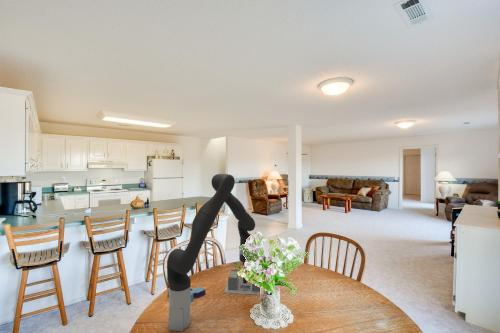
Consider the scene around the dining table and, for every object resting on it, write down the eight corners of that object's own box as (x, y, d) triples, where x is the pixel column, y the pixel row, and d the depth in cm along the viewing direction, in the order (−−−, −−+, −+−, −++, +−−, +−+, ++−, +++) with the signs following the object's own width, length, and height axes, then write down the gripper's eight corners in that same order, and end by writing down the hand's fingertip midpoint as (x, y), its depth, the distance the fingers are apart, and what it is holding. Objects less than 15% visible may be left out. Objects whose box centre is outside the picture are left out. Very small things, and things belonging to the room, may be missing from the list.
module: (250, 285, 142) (250, 271, 142) (239, 284, 143) (240, 270, 143) (250, 282, 146) (250, 268, 146) (240, 281, 147) (240, 267, 147)
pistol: (207, 294, 137) (186, 306, 125) (188, 286, 146) (167, 296, 134) (207, 286, 137) (187, 298, 125) (188, 279, 146) (167, 289, 134)
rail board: (263, 295, 137) (264, 281, 137) (224, 292, 138) (224, 278, 138) (264, 282, 151) (264, 270, 150) (228, 280, 152) (228, 268, 152)
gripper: (251, 257, 137) (250, 287, 137) (253, 248, 151) (252, 276, 151) (237, 256, 137) (237, 287, 138) (240, 247, 152) (240, 275, 152)
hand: (245, 281), depth 144 cm, fingers closed on module, 4 cm apart
